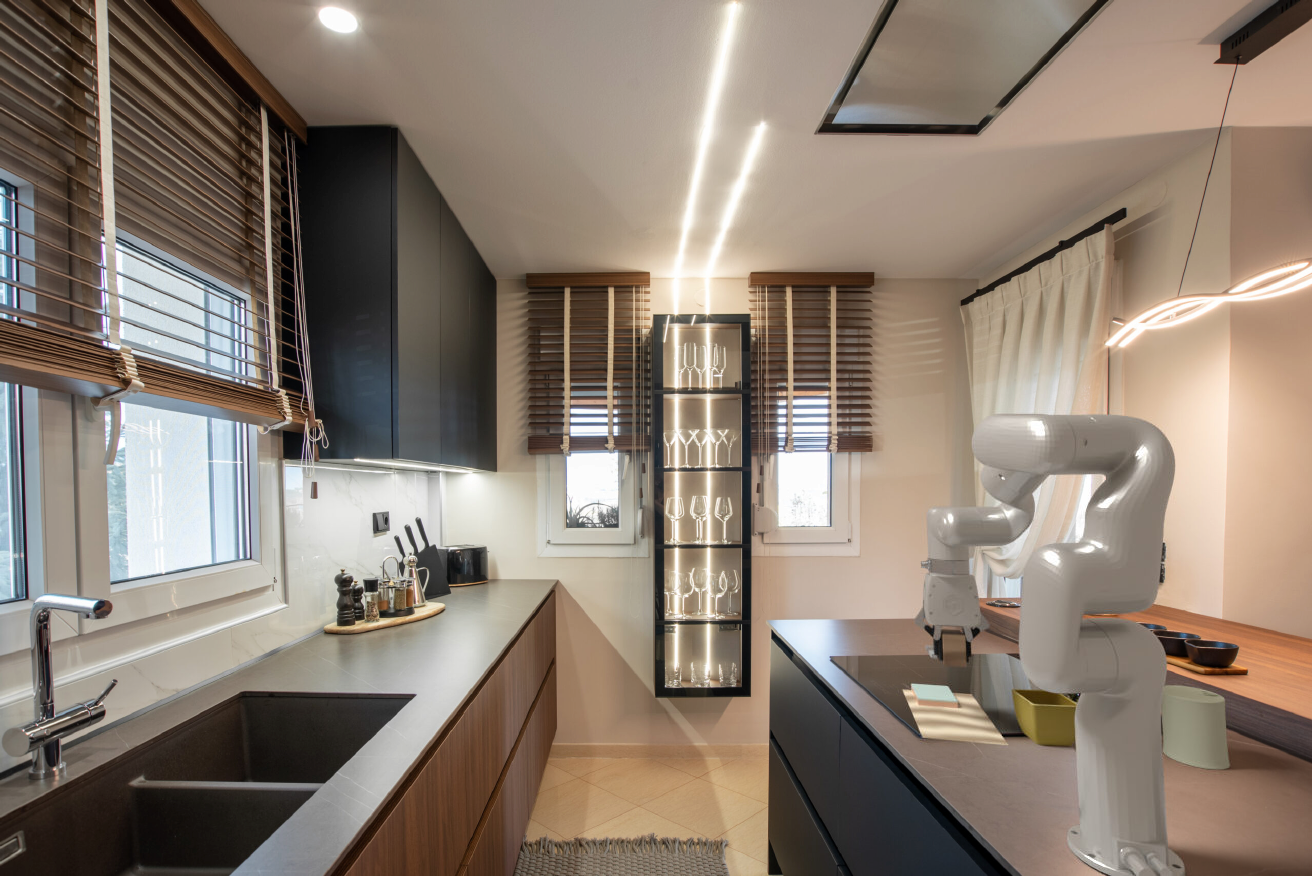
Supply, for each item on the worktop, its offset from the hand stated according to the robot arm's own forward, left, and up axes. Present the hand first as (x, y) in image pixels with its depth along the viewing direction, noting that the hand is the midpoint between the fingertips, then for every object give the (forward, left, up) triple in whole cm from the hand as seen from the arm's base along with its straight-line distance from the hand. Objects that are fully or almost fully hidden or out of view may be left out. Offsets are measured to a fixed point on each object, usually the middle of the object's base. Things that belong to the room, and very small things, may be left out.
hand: (952, 658), depth 124 cm
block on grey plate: (+4, 0, -1) cm, 4 cm away
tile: (+12, +1, -13) cm, 18 cm away
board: (+8, 0, -15) cm, 17 cm away
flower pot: (-1, -16, -15) cm, 22 cm away
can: (-1, -40, -15) cm, 43 cm away
